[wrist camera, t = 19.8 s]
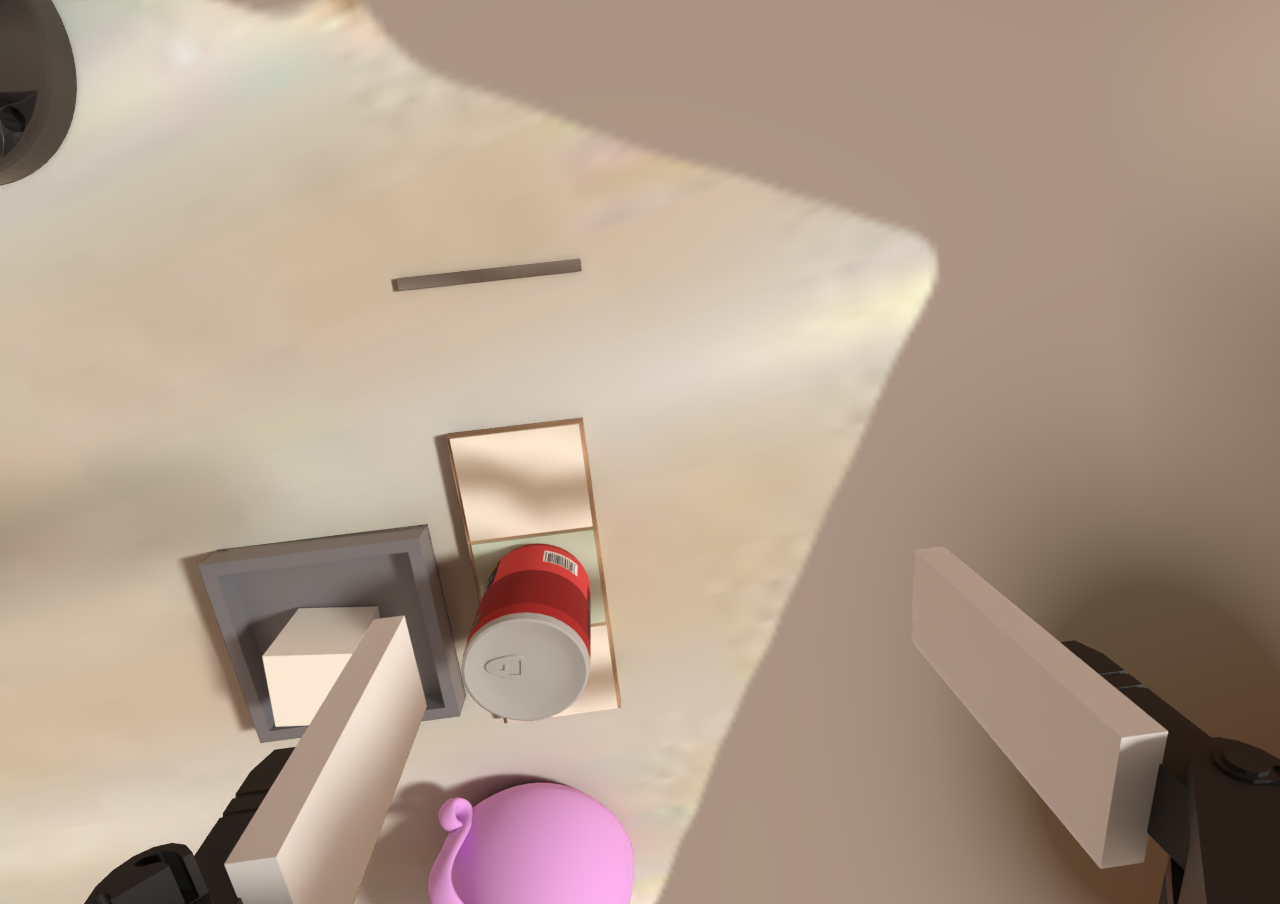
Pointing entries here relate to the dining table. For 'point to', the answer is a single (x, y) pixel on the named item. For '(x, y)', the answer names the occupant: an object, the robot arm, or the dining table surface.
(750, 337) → the dining table surface
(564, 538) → the board
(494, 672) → the canned food
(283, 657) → the cream cube
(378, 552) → the dice tray
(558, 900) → the teapot
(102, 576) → the dining table surface
